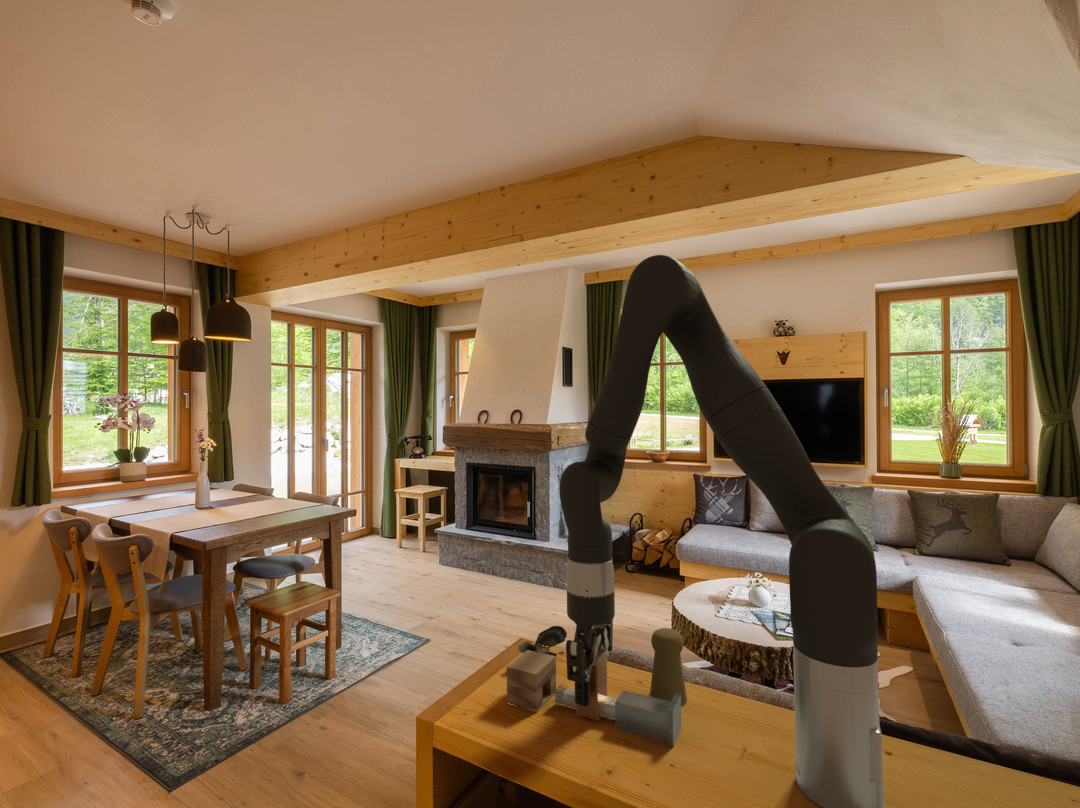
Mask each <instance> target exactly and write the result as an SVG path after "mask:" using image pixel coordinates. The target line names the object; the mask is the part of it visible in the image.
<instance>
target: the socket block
mask: <svg viewBox="0 0 1080 808" xmlns="http://www.w3.org/2000/svg"><path fill="white" fill-rule="evenodd" d="M556 662H557V656H556V655H553V654H549V653H548V654H544V653H539V652H535V651H530V650H527V651H526V652H524V653H522V654H520V655H519V656H518V657H517V658H516V659H515V660H513V661H512V662H511V663H510V664H509V665H508V666H507V667H506V703H507V702H508V703H510V704H513V705H516V706H518V707H517V708H519V707H521V708H520V709H522V708H523V709H522V710H527V711H530V712H533V713H539V711H540V710H541V709H542V708H543V707H544V706H545V705H546V704H547V702H548V701H549V700H550V699H551V698H552V697H553V696H555V690H556V689H557V663H556Z"/></svg>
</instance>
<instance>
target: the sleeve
mask: <svg viewBox="0 0 1080 808" xmlns="http://www.w3.org/2000/svg"><path fill="white" fill-rule="evenodd" d="M618 695H619V696H618V697H617V698H616V699H617V700H616V701H615V719H614V721H615V723H614V724H615V727H614V728H615V729H617V730H621V731H624V732H627V733H632V734H635V735H638V736H639V735H640V736H642V737H645V738H649V739H654V740H656V741H659V742H664V743H667V746H669V747H673V748H674V747H675V744H676V741H677V739H678V737H679V734H680V732H681V730H682V707H681V694H677V693H675V695H674V697H673V699H672V701H667V700H662V699H658V698H654V697H650V695H646V694H642V693H637V692H632V691H629V690H624V689H623V690H622V691H621V693H620V694H618Z"/></svg>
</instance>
